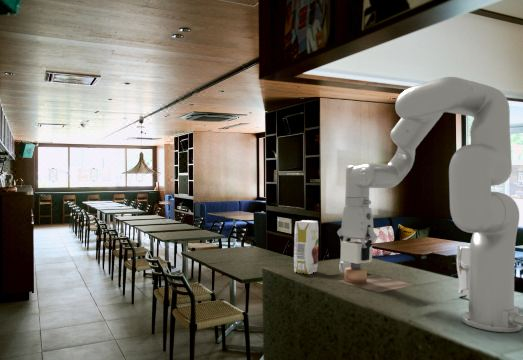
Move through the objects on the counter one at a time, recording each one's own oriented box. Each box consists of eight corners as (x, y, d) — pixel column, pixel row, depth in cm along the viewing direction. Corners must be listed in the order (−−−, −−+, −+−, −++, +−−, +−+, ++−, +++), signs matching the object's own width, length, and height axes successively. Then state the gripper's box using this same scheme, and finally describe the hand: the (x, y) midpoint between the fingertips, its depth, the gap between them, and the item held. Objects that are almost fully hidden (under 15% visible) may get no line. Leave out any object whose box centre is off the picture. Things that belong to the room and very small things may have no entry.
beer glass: (472, 302, 123) (473, 249, 123) (450, 296, 129) (451, 246, 129) (486, 299, 126) (487, 248, 127) (464, 293, 132) (465, 245, 132)
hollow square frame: (371, 261, 138) (372, 243, 138) (357, 263, 134) (357, 244, 134) (355, 258, 144) (355, 240, 144) (340, 260, 140) (340, 241, 140)
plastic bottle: (357, 276, 154) (358, 220, 154) (338, 275, 155) (339, 220, 156) (357, 273, 160) (358, 219, 161) (339, 271, 162) (340, 218, 162)
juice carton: (291, 272, 158) (292, 221, 159) (300, 269, 166) (302, 219, 166) (310, 275, 155) (311, 222, 155) (319, 271, 162) (320, 220, 162)
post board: (415, 289, 136) (416, 248, 136) (378, 297, 126) (379, 252, 126) (372, 279, 150) (373, 242, 150) (336, 285, 139) (337, 245, 139)
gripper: (386, 204, 134) (385, 261, 134) (345, 201, 148) (344, 253, 148) (370, 204, 130) (369, 263, 130) (329, 202, 144) (328, 255, 144)
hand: (356, 257), depth 139 cm, fingers closed on hollow square frame, 6 cm apart
